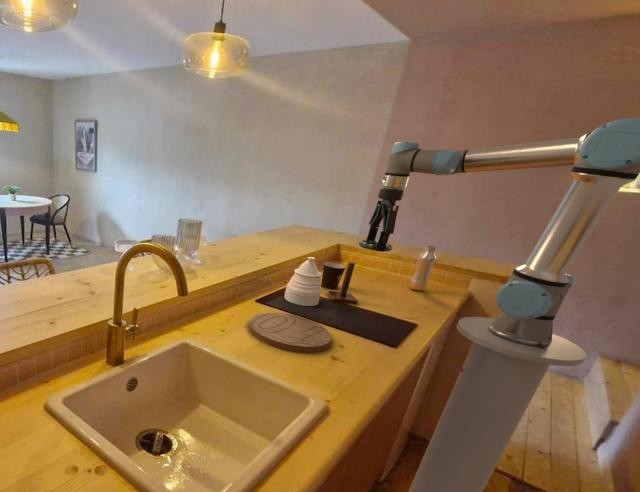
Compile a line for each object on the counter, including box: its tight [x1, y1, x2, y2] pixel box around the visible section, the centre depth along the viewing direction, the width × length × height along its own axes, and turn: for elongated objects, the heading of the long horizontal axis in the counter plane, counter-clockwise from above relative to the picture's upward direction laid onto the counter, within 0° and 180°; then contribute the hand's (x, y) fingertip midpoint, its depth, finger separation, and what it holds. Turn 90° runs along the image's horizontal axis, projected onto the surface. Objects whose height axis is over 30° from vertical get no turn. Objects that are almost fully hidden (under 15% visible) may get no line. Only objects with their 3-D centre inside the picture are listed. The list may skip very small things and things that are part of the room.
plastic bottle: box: [408, 245, 437, 292], centre depth 172 cm, size 6×7×20 cm
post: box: [327, 261, 359, 305], centre depth 157 cm, size 9×9×16 cm
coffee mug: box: [320, 262, 346, 290], centre depth 173 cm, size 12×9×10 cm
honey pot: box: [284, 256, 323, 307], centre depth 153 cm, size 13×13×18 cm
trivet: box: [248, 312, 332, 353], centre depth 127 cm, size 25×25×2 cm
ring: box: [358, 239, 394, 252], centre depth 149 cm, size 11×11×2 cm
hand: (374, 247), depth 149 cm, fingers closed on ring, 11 cm apart
